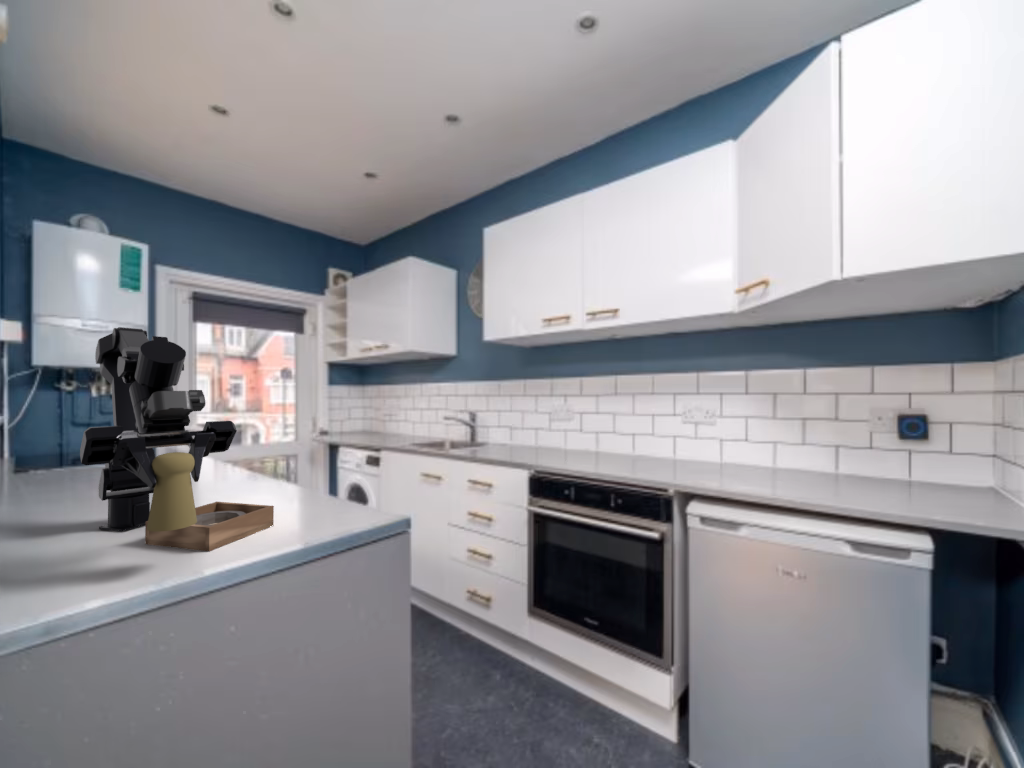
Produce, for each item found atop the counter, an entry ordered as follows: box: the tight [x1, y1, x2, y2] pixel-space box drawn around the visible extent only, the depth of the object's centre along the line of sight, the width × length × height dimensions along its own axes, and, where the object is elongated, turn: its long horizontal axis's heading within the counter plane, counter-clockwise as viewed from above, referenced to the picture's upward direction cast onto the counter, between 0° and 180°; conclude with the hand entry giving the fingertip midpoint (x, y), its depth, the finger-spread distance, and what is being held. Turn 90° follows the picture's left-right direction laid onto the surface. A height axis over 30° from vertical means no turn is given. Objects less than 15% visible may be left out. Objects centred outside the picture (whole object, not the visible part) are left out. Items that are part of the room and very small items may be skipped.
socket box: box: [144, 501, 275, 552], centre depth 81 cm, size 14×14×4 cm
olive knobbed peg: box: [147, 451, 197, 532], centre depth 65 cm, size 6×6×11 cm
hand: (176, 483), depth 65 cm, fingers closed on olive knobbed peg, 5 cm apart
